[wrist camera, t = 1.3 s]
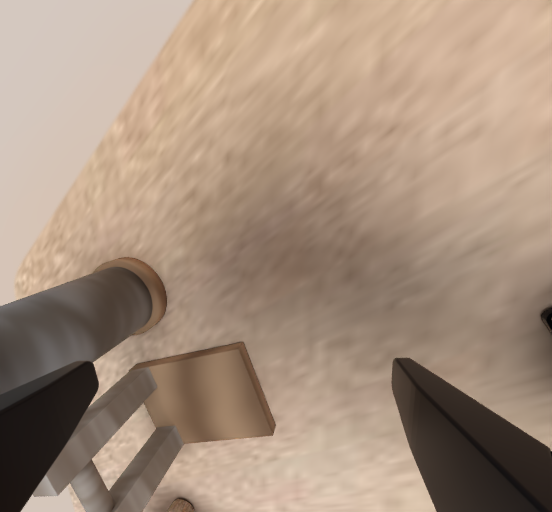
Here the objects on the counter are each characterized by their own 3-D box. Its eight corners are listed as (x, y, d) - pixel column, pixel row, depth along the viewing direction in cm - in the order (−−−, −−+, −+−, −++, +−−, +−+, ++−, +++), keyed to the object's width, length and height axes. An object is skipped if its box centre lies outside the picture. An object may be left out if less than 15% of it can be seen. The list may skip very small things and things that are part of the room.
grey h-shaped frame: (243, 342, 22) (169, 457, 13) (275, 425, 24) (230, 585, 14) (136, 363, 26) (15, 469, 16) (170, 436, 27) (77, 573, 17)
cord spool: (181, 305, 23) (-7, 445, 11) (133, 340, 25) (-69, 490, 13) (132, 242, 22) (-122, 312, 10) (88, 283, 25) (-167, 381, 12)
